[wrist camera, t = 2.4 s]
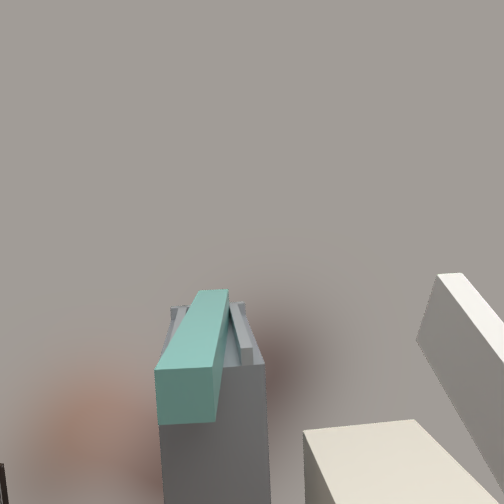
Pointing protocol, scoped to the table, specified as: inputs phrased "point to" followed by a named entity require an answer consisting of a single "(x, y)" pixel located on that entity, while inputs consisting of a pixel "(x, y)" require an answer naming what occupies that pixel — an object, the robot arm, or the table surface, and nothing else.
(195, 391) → the lid bar
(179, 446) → the tall grey bin
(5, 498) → the coffee box
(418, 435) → the beige tall block
